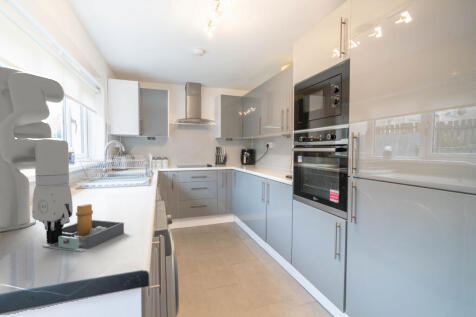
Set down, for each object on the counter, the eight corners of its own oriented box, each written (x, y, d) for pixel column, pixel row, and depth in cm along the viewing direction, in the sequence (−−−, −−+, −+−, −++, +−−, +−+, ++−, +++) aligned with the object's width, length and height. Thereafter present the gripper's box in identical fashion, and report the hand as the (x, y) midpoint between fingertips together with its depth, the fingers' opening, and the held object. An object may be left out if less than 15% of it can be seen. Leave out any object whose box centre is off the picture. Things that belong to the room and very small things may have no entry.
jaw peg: (72, 237, 70) (72, 206, 70) (86, 232, 74) (85, 203, 74) (83, 238, 69) (82, 207, 69) (96, 233, 73) (96, 204, 73)
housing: (40, 246, 65) (40, 233, 64) (88, 228, 79) (87, 218, 79) (81, 252, 60) (81, 238, 60) (123, 232, 75) (123, 221, 75)
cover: (55, 247, 62) (55, 237, 62) (60, 245, 64) (60, 235, 63) (74, 250, 60) (74, 239, 60) (79, 248, 62) (78, 237, 62)
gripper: (19, 181, 62) (21, 244, 62) (58, 183, 58) (60, 250, 58) (48, 178, 69) (50, 235, 69) (84, 179, 65) (86, 239, 65)
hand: (54, 242), depth 64 cm, fingers closed
